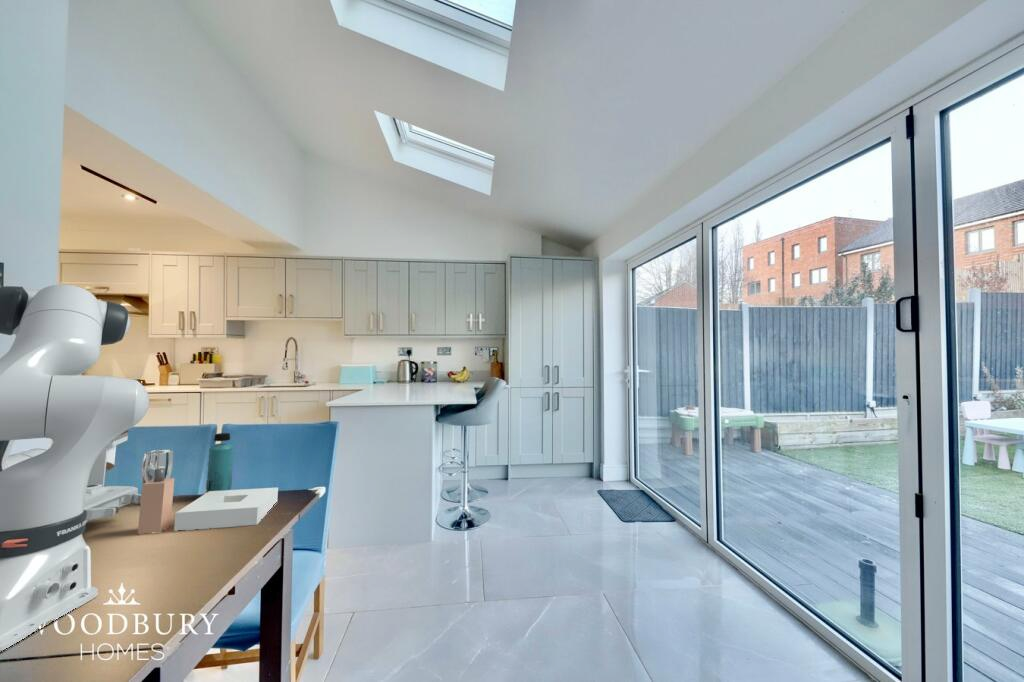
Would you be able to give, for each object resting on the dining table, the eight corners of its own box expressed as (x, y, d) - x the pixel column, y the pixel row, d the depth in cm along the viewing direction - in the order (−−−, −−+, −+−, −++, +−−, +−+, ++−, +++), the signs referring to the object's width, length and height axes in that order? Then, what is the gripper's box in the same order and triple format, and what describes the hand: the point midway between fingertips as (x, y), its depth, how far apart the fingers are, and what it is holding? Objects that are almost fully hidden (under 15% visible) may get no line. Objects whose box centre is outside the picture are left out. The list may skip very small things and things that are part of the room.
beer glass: (146, 499, 119) (151, 449, 120) (174, 498, 121) (178, 449, 122) (132, 507, 112) (137, 454, 113) (161, 505, 114) (166, 453, 116)
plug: (160, 533, 95) (165, 470, 97) (137, 534, 94) (143, 471, 95) (170, 526, 100) (175, 466, 101) (149, 527, 98) (154, 467, 100)
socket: (256, 524, 101) (257, 507, 102) (173, 531, 96) (175, 512, 97) (277, 502, 119) (278, 487, 119) (208, 507, 114) (209, 491, 114)
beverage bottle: (235, 494, 125) (240, 432, 127) (218, 501, 118) (223, 435, 120) (217, 493, 126) (222, 431, 127) (198, 500, 119) (204, 434, 121)
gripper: (21, 508, 84) (97, 505, 86) (100, 482, 104) (160, 480, 106) (17, 539, 83) (94, 534, 86) (98, 506, 103) (158, 504, 106)
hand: (131, 504), depth 96 cm, fingers open, 8 cm apart
